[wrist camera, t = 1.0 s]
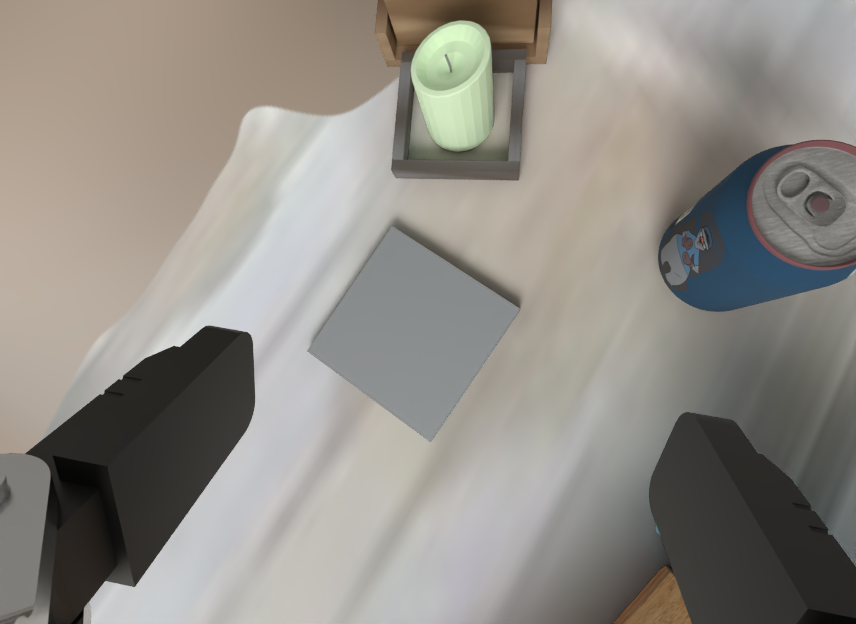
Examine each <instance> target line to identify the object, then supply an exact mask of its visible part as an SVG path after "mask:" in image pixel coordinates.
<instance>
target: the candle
mask: <svg viewBox="0 0 856 624" xmlns="http://www.w3.org/2000/svg"><path fill="white" fill-rule="evenodd" d="M411 78H412V82H413V85H414V88H415V91H416V94H417V97H418V100H419V103H420V106H421V110H422V113H423V116H424V119H425V122H426V125H427V128H428V131H429V133H430V136H431V138H432V139H433V140H434V141H435V143H436V144H438V145H439V146H441V147H442V148H444V149H446V150H449V151H456V152H462V151H467V150H470V149H472V148H475V147H477V146H478V145H479V144H481V143H482V142H483V141H484V140H485V139H486V138H487V136H488V135H489V134H490V132H491V129H492V127H493V122H494V103H493V78H492V53H491V42H490V37H489V35H488V34H487V32H486V30H485V29H484V28H483V27H481V26H480V25H479V24H477V23H474V22H471V21H461V20H460V21H455V22H450V23H447V24H445V25H443V26H441V27H439V28H437V29H436V30H434V31H433V32H432V33H430V34H429V35H428V36H427V37H426V38H425V39H424V40H423V41H422V43H421V44H420V46H419V47H418V49H417V50H416V52H415V55H414V57H413V59H412V64H411Z"/></svg>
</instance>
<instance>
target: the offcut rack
mask: <svg viewBox="0 0 856 624" xmlns="http://www.w3.org/2000/svg"><path fill="white" fill-rule="evenodd" d="M551 13H552V0H378V6H377V15H376V27H375V35H376V38H377V41H378V43H379V46H380V48H381V51H382V53H383V56H384V59H385V61H386V64H387V66H388V67H396V66H401V68H400V79H399V90H398V102H397V113H396V124H395V135H394V146H393V157H392V168H391V170H392V172H393V174H394V176H395V177H396V178H418V179H474V180H519V165H520V149H521V133H522V117H523V101H524V86H525V70H526V64H546V58H547V51H548V44H549V36H550V29H551ZM460 20H461V21H471V22H474V23H477V24H479V25H480V26H481V27H483V28H484V29H485V30H486V32H487V34H488V35H489V37H490V42H491V53H492V73H506V72H514V78H513V94H512V109H511V124H510V140H509V155H508V161H475V160H408V152H409V141H410V129H411V118H412V106H413V95H414V85H413V82H412V78H411V64H412V59H413V57H414V55H415V52H416V50H417V49H418V47H419V46H420V44H421V43H422V41H423V40H424V39H425V38H426V37H427V36H428V35H429V34H430V33H432V32H433V31H434V30H436V29H437V28H439V27H441V26H443V25H445V24H447V23H450V22H455V21H460Z"/></svg>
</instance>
